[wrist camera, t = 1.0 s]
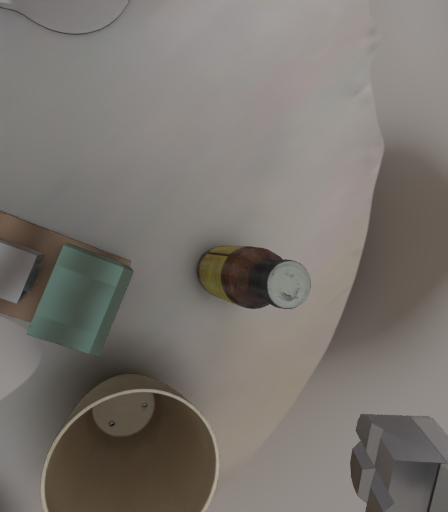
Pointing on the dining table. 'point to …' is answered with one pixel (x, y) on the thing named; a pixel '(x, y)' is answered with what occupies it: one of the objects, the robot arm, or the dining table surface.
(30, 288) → the upright dark gray slab
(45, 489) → the plant pot
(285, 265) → the sauce bottle
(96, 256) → the tube housing
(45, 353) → the dining table surface
